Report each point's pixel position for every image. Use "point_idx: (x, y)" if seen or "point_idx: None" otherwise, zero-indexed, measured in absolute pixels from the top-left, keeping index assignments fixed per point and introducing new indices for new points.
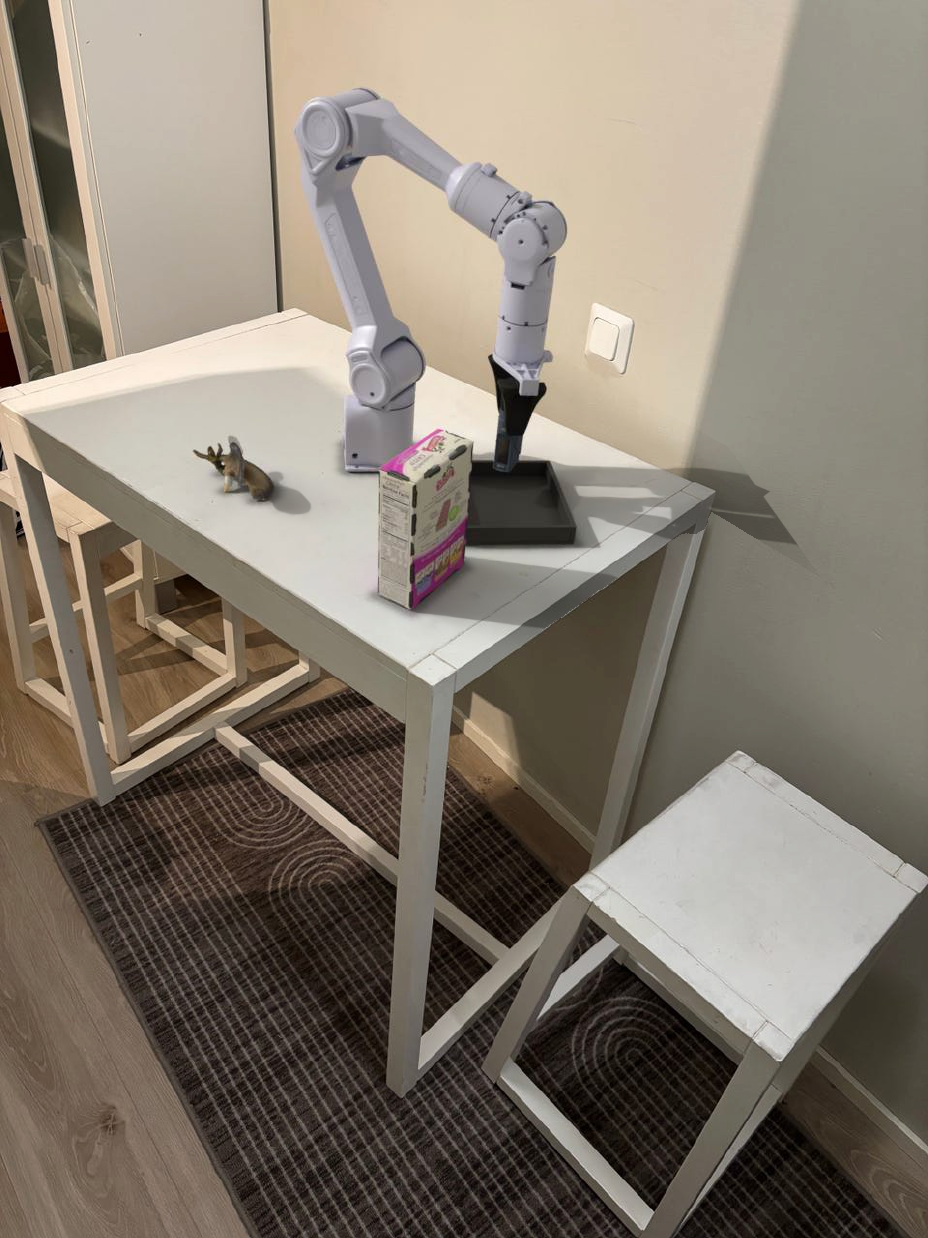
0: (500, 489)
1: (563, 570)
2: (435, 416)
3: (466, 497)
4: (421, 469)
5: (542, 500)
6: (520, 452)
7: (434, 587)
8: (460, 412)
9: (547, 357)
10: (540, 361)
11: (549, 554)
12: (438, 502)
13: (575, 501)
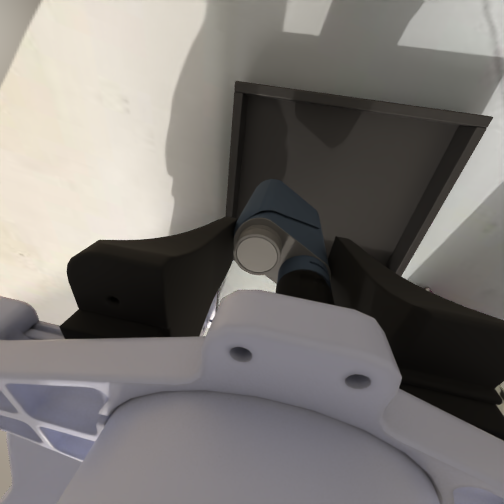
0: None
1: None
2: (79, 209)
3: (499, 385)
4: None
5: (326, 130)
6: (282, 184)
7: None
8: (57, 171)
9: (382, 403)
10: (451, 477)
11: (468, 172)
12: None
13: (337, 53)
